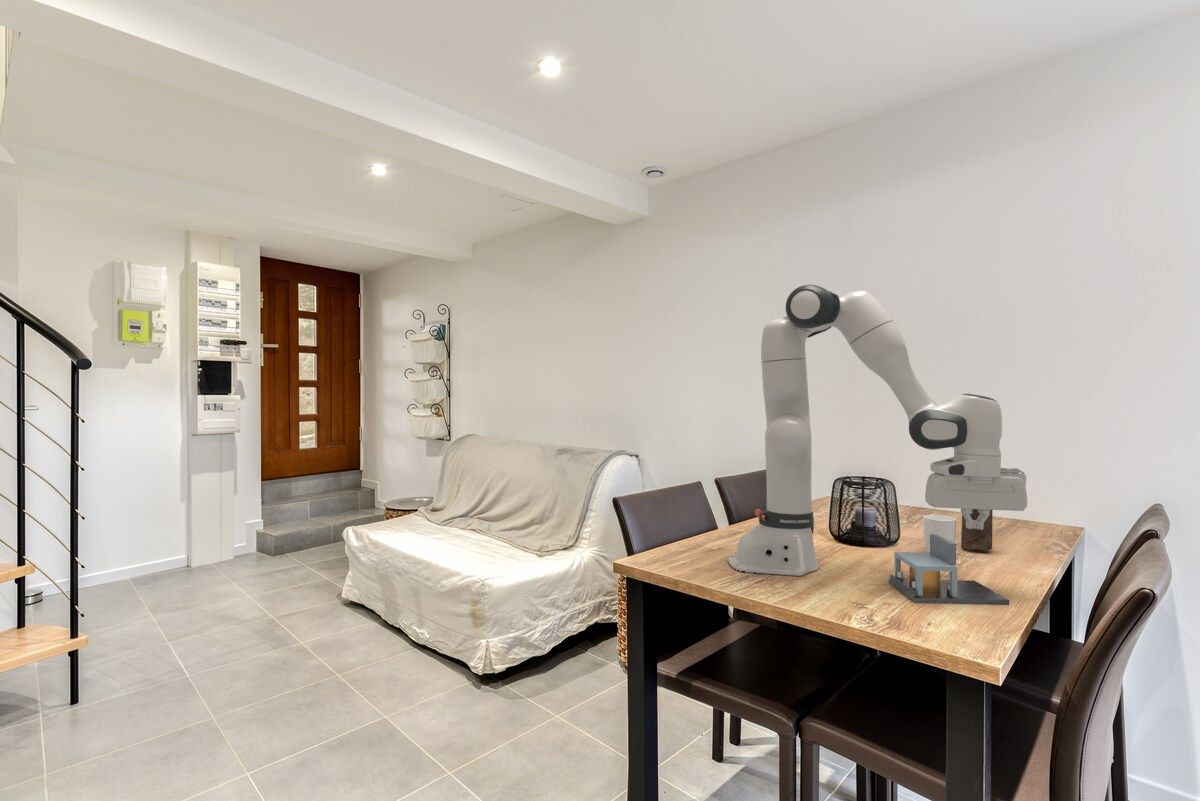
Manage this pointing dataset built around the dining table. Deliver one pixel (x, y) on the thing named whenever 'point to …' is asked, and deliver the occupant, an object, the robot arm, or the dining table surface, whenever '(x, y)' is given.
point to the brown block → (928, 580)
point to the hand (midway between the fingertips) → (974, 528)
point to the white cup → (939, 528)
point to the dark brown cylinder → (977, 534)
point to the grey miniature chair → (931, 562)
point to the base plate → (965, 592)
